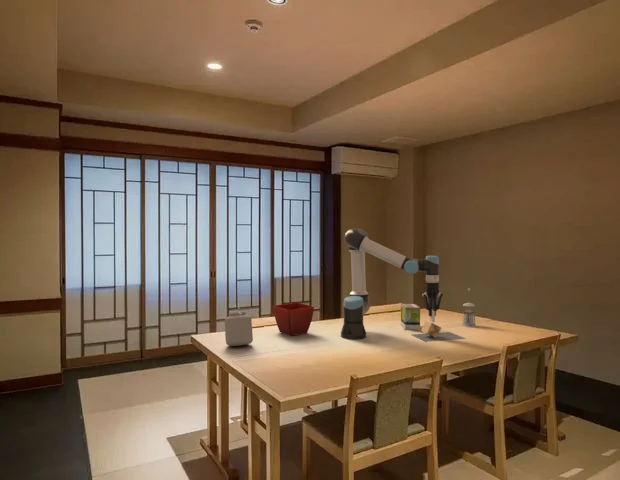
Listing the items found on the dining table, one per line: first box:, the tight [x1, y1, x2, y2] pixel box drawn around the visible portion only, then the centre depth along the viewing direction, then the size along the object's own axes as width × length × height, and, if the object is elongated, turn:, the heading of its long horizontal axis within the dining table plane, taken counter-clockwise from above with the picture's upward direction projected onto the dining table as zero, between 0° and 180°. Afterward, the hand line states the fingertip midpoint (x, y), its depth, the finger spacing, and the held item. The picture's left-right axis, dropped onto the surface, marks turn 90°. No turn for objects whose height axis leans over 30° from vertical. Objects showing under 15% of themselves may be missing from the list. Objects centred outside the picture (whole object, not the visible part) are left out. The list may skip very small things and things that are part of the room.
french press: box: [460, 288, 477, 328], centre depth 299 cm, size 10×12×25 cm
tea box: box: [400, 303, 421, 331], centre depth 294 cm, size 15×10×15 cm
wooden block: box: [420, 319, 442, 338], centre depth 266 cm, size 7×7×7 cm
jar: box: [224, 305, 254, 347], centre depth 249 cm, size 19×15×25 cm
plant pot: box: [272, 302, 315, 337], centre depth 279 cm, size 19×19×17 cm
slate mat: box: [411, 331, 467, 343], centre depth 268 cm, size 26×18×1 cm
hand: (432, 321), depth 266 cm, fingers closed
